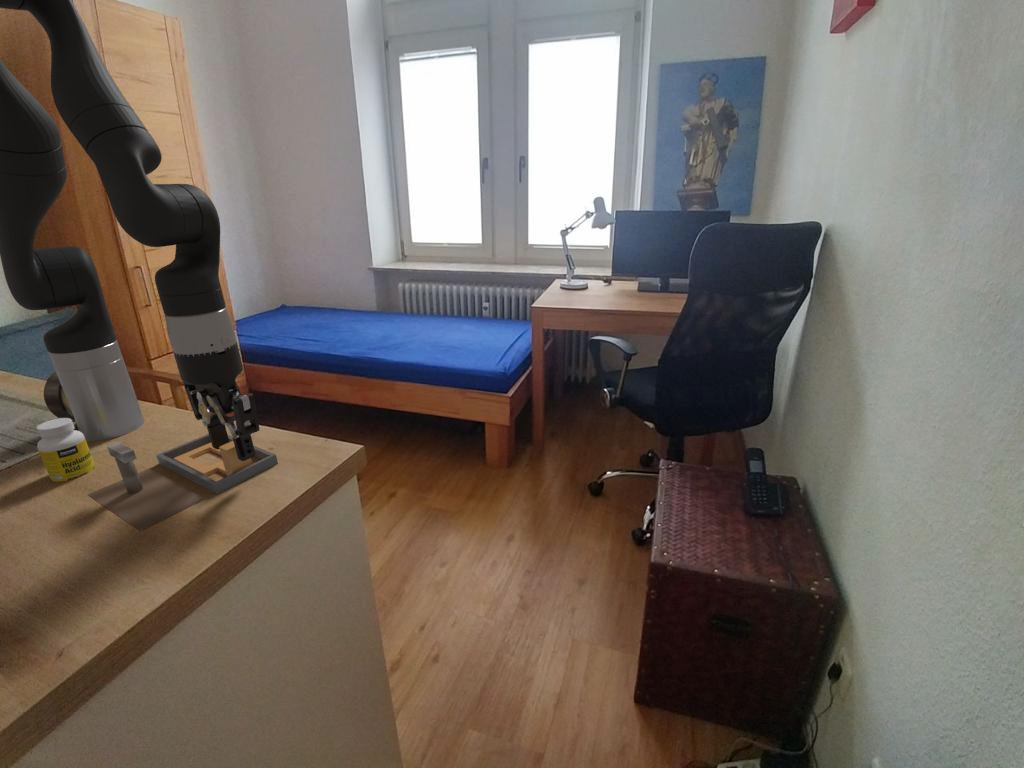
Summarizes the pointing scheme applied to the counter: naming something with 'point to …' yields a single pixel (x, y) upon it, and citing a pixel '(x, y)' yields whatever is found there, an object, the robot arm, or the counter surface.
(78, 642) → the counter surface
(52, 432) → the supplement bottle
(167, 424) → the counter surface
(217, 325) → the robot arm
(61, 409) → the alarm clock
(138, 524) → the board
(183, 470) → the tray
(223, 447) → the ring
